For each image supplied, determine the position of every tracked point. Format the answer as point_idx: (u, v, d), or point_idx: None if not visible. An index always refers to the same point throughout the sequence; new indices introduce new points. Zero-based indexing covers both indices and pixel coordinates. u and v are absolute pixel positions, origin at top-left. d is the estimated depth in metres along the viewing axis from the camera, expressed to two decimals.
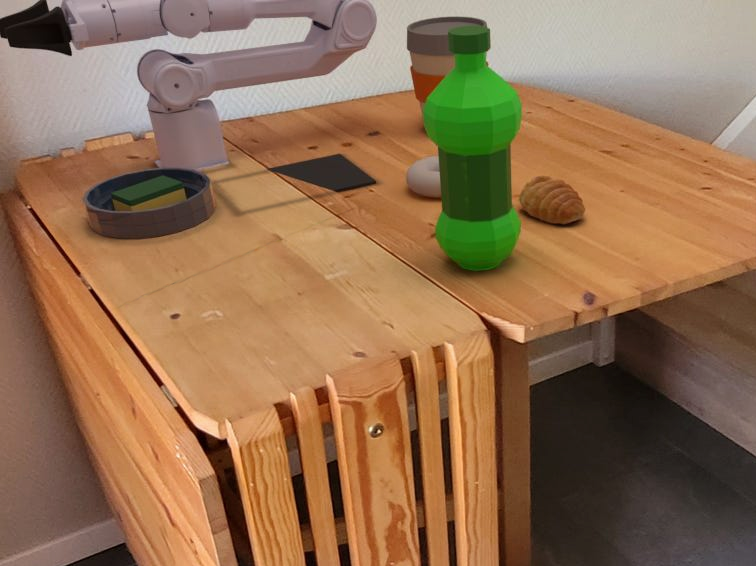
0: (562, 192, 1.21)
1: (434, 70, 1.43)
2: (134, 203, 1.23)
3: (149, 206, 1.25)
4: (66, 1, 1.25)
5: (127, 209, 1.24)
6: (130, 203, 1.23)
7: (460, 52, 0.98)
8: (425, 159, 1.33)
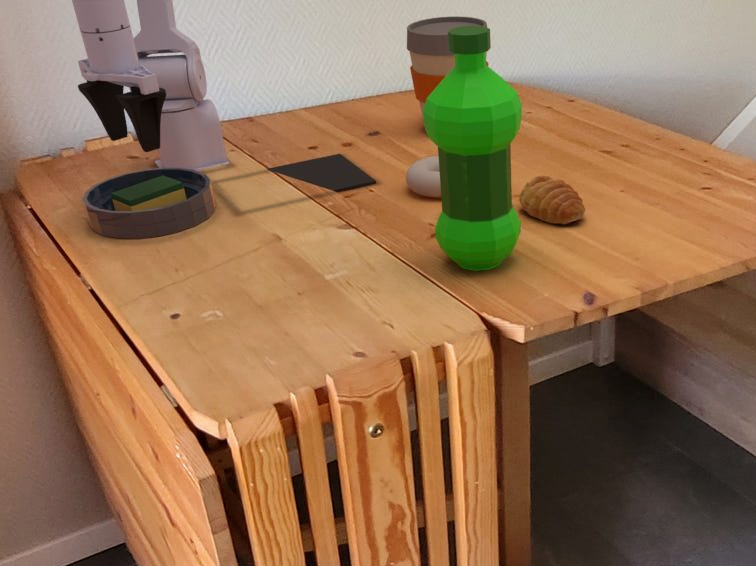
0: (562, 192, 1.21)
1: (434, 70, 1.43)
2: (134, 203, 1.23)
3: (149, 206, 1.25)
4: (100, 79, 1.15)
5: (127, 209, 1.24)
6: (130, 203, 1.23)
7: (460, 52, 0.98)
8: (425, 159, 1.33)
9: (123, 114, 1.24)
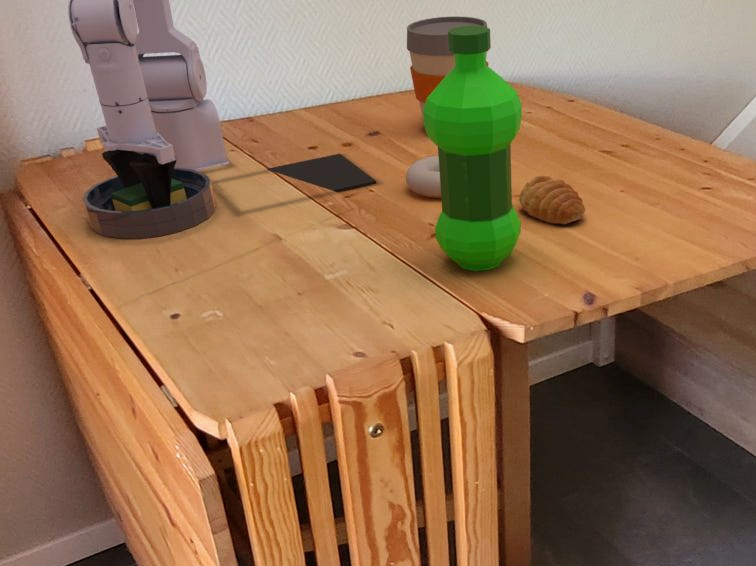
0: (562, 192, 1.21)
1: (434, 70, 1.43)
2: (134, 203, 1.23)
3: (149, 206, 1.25)
4: (119, 149, 1.20)
5: (127, 209, 1.24)
6: (130, 203, 1.23)
7: (460, 52, 0.98)
8: (425, 159, 1.33)
9: None
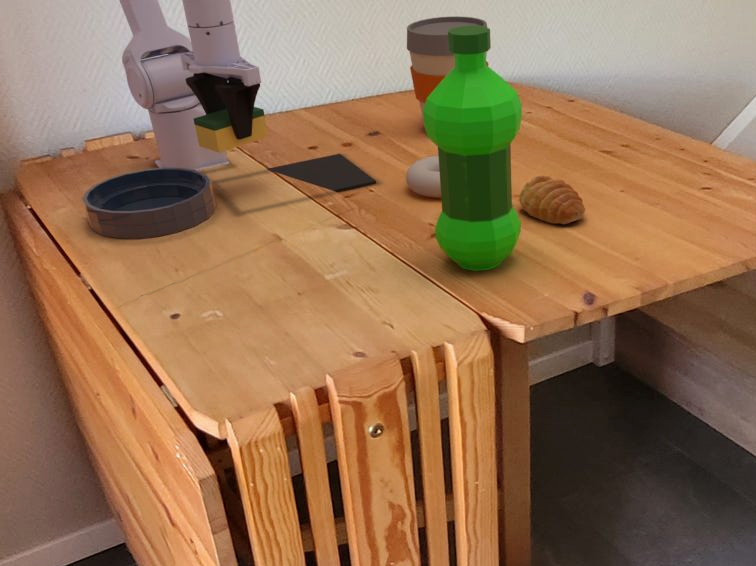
0: (562, 192, 1.21)
1: (434, 70, 1.43)
2: (218, 127, 1.24)
3: (232, 131, 1.26)
4: (205, 71, 1.21)
5: (210, 134, 1.25)
6: (214, 127, 1.24)
7: (460, 52, 0.98)
8: (425, 159, 1.33)
9: (226, 107, 1.29)
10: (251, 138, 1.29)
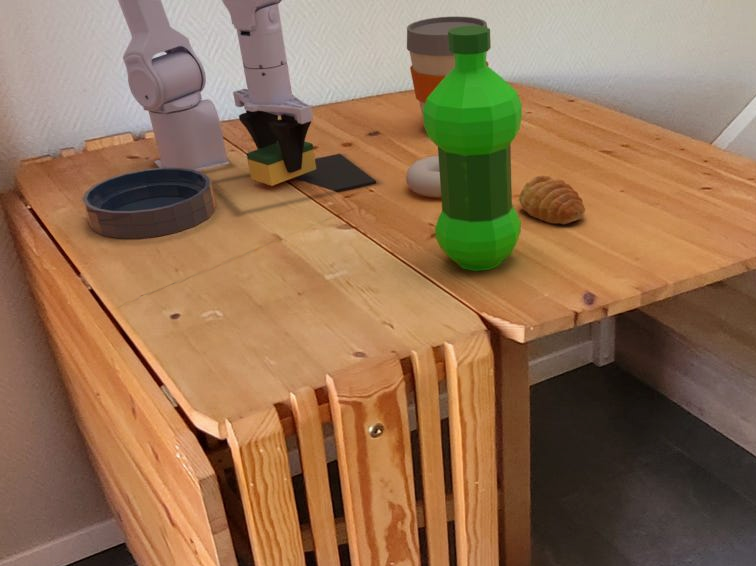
0: (562, 192, 1.21)
1: (434, 70, 1.43)
2: (271, 162, 1.31)
3: (283, 165, 1.32)
4: (259, 110, 1.28)
5: (263, 168, 1.31)
6: (267, 162, 1.30)
7: (460, 52, 0.98)
8: (425, 159, 1.33)
9: (276, 141, 1.35)
10: (301, 171, 1.35)
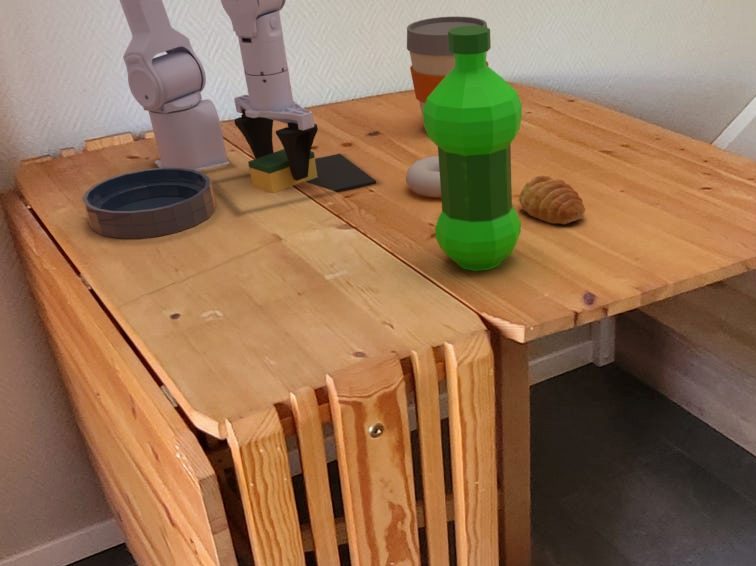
0: (562, 192, 1.21)
1: (434, 70, 1.43)
2: (272, 170, 1.31)
3: (285, 174, 1.33)
4: (260, 116, 1.28)
5: (264, 176, 1.32)
6: (269, 170, 1.31)
7: (460, 52, 0.98)
8: (425, 159, 1.33)
9: (271, 145, 1.37)
10: (302, 179, 1.35)
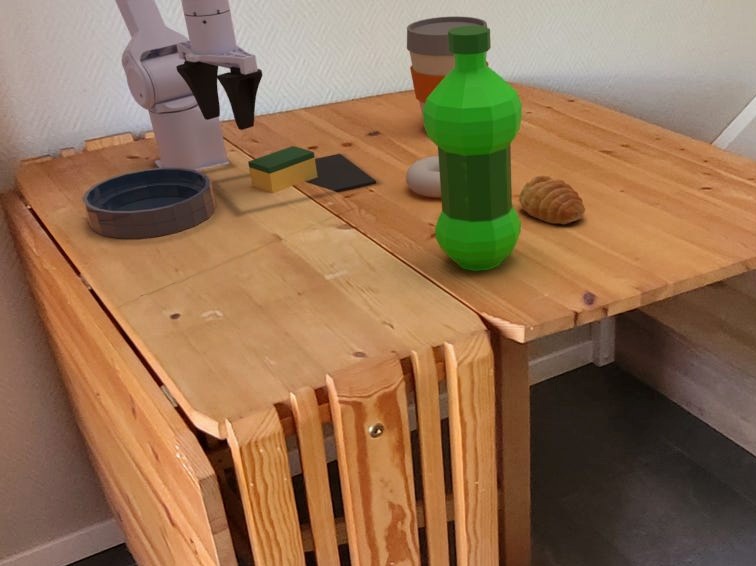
0: (562, 192, 1.21)
1: (434, 70, 1.43)
2: (272, 170, 1.31)
3: (285, 174, 1.33)
4: (201, 60, 1.22)
5: (264, 176, 1.32)
6: (269, 170, 1.31)
7: (460, 52, 0.98)
8: (425, 159, 1.33)
9: (216, 94, 1.31)
10: (302, 179, 1.35)
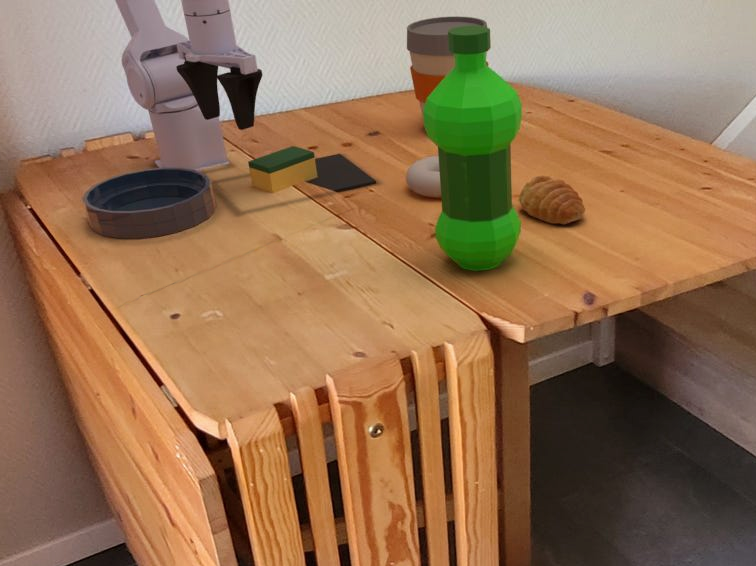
0: (562, 192, 1.21)
1: (434, 70, 1.43)
2: (272, 170, 1.31)
3: (285, 174, 1.33)
4: (201, 60, 1.22)
5: (264, 176, 1.32)
6: (269, 170, 1.31)
7: (460, 52, 0.98)
8: (425, 159, 1.33)
9: (216, 94, 1.31)
10: (302, 179, 1.35)
